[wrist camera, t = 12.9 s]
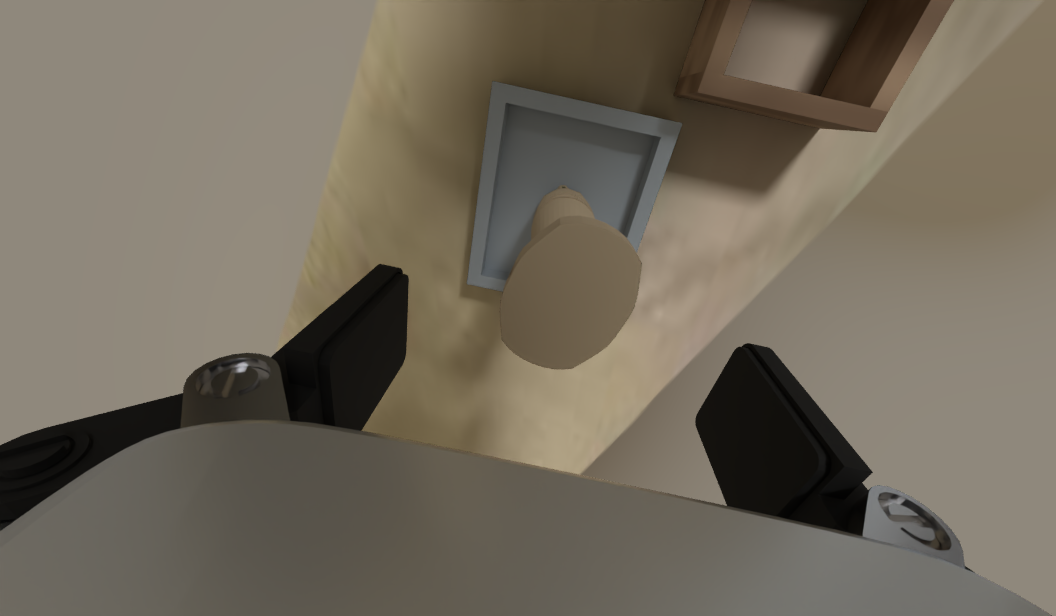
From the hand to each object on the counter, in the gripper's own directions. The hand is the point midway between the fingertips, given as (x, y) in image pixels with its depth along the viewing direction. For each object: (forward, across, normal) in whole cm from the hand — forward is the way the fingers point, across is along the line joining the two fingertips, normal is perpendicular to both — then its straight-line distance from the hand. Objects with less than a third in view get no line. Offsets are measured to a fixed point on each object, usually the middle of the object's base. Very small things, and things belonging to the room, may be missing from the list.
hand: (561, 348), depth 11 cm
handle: (+19, 0, +1) cm, 19 cm away
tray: (+20, 0, +1) cm, 20 cm away
